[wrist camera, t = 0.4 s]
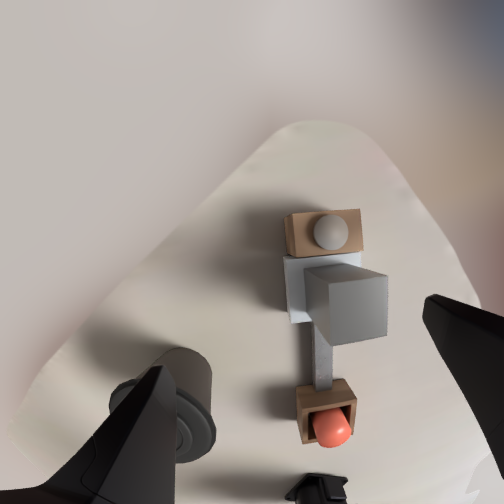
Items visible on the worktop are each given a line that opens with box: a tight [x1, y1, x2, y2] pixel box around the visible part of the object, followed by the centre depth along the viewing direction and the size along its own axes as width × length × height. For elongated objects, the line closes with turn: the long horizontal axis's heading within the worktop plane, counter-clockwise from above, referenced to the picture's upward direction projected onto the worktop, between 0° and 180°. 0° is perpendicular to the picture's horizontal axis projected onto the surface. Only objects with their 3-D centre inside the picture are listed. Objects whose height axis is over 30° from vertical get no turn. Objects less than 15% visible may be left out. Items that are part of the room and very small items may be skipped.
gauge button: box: [310, 407, 351, 448], centre depth 21 cm, size 3×3×4 cm
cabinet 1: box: [284, 209, 364, 258], centre depth 21 cm, size 3×5×6 cm, turn 95°
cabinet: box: [296, 379, 357, 444], centre depth 23 cm, size 5×5×4 cm
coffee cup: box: [109, 348, 216, 463], centre depth 20 cm, size 8×8×10 cm
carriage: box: [283, 252, 388, 347], centre depth 19 cm, size 5×6×10 cm
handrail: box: [307, 254, 333, 392], centre depth 23 cm, size 13×2×2 cm, turn 6°
